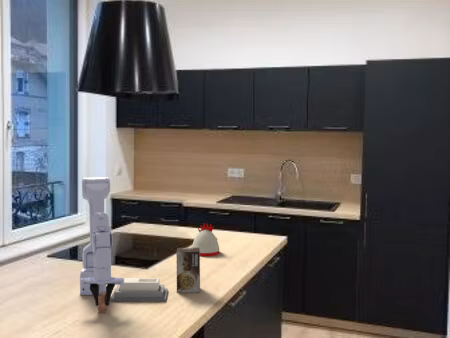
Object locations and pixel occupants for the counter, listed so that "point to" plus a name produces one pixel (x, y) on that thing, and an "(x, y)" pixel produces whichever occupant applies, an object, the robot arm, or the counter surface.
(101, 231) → the robot arm
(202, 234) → the kitchen timer
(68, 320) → the counter surface
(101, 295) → the terracotta flat slab
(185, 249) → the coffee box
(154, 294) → the cradle
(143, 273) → the counter surface
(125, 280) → the white hollow block
